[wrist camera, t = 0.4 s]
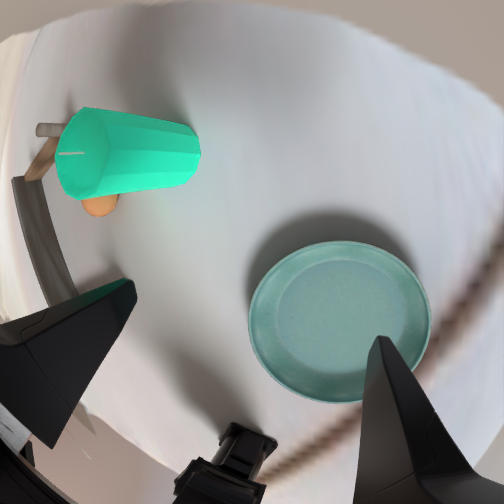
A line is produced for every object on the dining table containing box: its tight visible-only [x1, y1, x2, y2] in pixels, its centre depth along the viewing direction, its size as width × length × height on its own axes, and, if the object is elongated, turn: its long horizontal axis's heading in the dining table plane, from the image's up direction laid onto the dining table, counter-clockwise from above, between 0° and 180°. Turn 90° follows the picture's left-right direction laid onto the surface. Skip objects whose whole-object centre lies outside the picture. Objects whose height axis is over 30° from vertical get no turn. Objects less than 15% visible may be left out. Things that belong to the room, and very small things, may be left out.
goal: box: [11, 123, 78, 308], centre depth 28 cm, size 14×23×6 cm, turn 23°
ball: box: [81, 194, 118, 217], centre depth 26 cm, size 4×4×4 cm
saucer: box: [248, 240, 431, 404], centre depth 21 cm, size 15×15×3 cm
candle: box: [54, 107, 201, 200], centre depth 18 cm, size 6×6×12 cm
